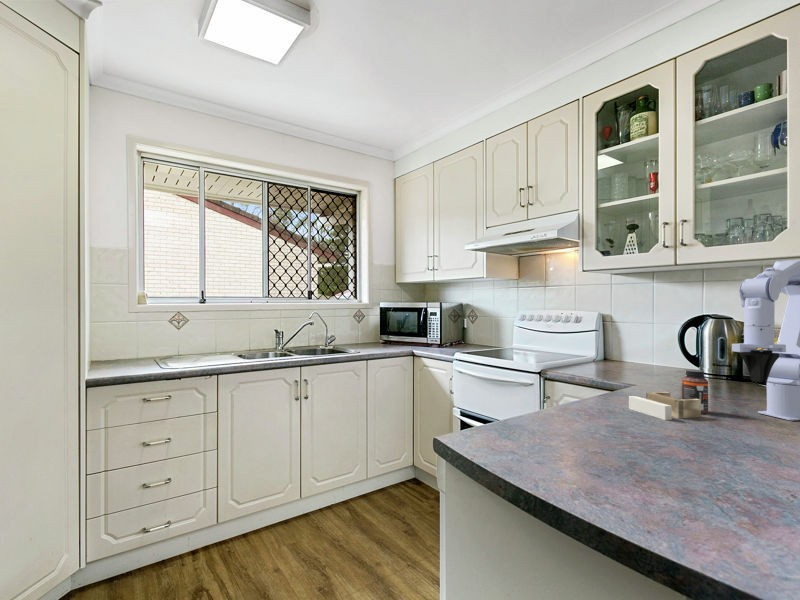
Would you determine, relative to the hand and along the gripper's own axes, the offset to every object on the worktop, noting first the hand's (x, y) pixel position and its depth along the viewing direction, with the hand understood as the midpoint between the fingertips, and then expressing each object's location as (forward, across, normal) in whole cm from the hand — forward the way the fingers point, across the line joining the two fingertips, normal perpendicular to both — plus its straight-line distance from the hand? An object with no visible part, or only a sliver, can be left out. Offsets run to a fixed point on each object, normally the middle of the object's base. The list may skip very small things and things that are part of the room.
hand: (759, 381), depth 101 cm
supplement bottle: (+11, -4, +13) cm, 18 cm away
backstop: (+11, -20, +13) cm, 26 cm away
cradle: (+11, -12, +13) cm, 21 cm away
